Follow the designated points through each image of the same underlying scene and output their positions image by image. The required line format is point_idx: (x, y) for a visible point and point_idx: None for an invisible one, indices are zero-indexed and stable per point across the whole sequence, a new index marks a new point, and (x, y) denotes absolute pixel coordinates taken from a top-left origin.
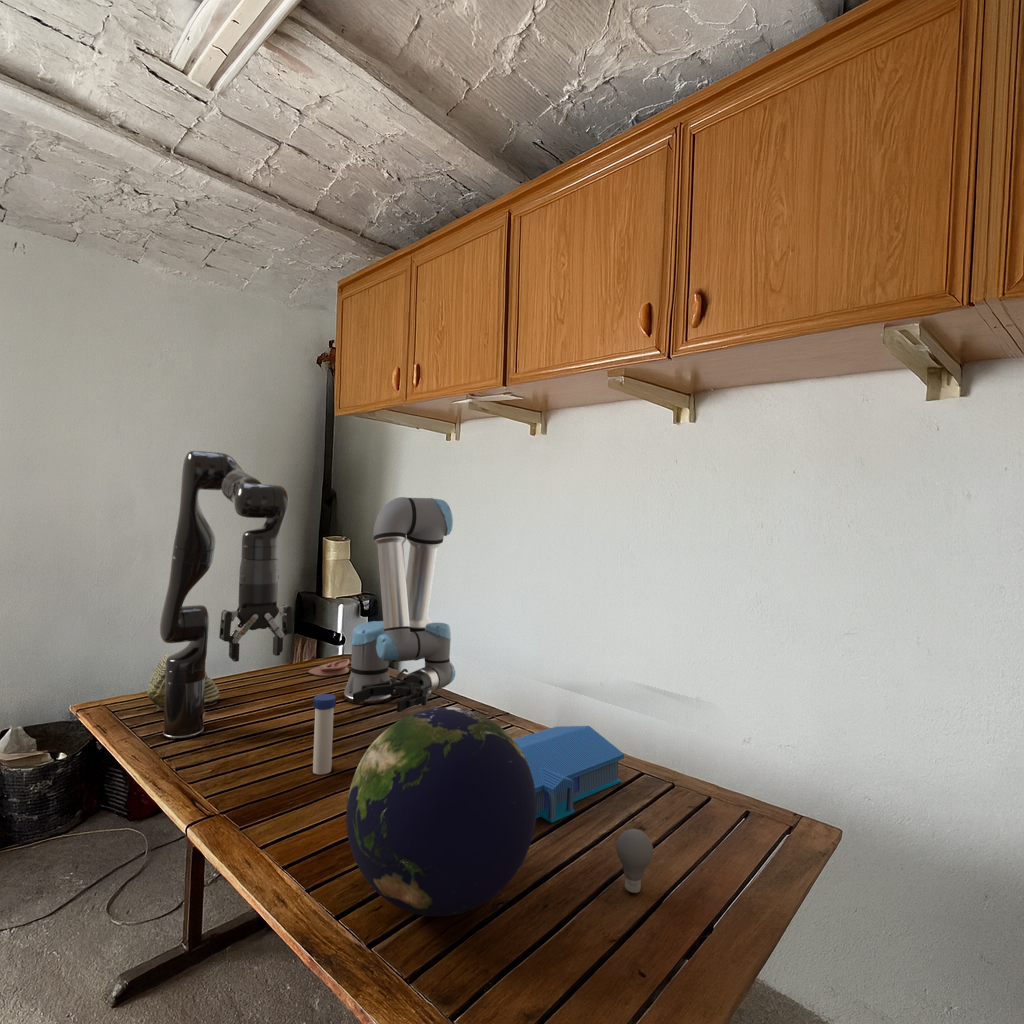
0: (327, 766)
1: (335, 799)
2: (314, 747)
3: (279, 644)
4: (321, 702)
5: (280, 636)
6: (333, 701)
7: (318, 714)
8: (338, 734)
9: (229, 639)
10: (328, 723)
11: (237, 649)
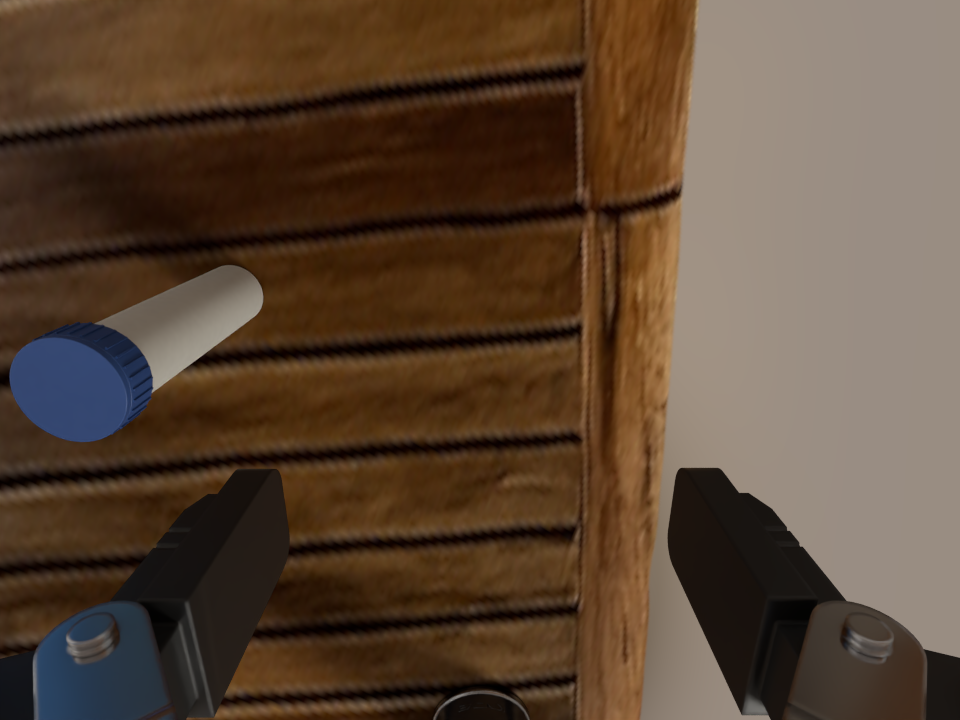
0: (216, 269)
1: (266, 67)
2: (228, 318)
3: (196, 538)
4: (106, 350)
5: (122, 620)
6: (41, 337)
7: (152, 345)
8: (100, 508)
9: (953, 685)
10: (132, 309)
11: (754, 544)
